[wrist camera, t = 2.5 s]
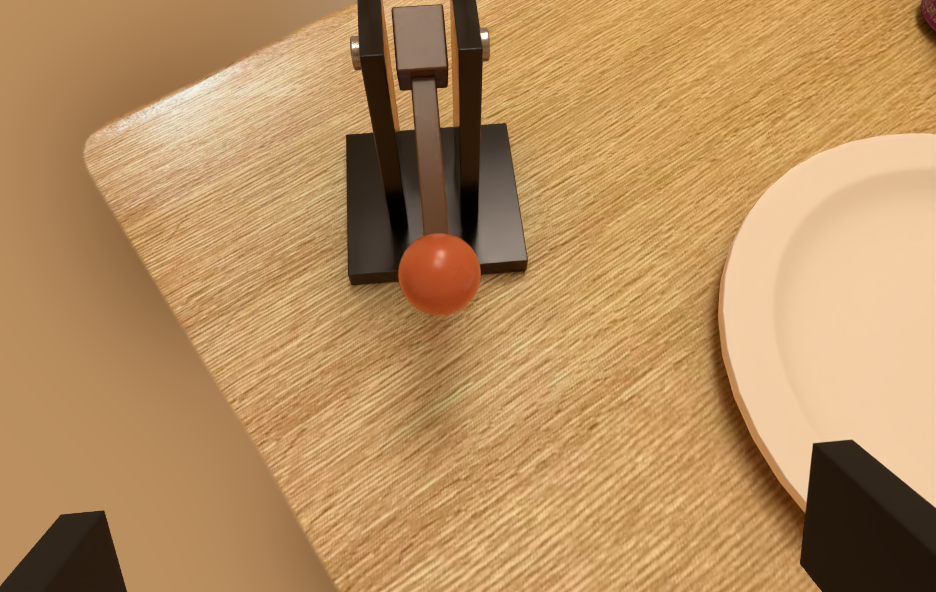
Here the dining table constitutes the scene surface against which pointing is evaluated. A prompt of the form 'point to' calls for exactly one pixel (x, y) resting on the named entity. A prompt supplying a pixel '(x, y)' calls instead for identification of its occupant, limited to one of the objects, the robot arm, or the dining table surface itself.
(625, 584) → the dining table surface
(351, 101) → the dining table surface
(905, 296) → the plate
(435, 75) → the lever rod
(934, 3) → the beverage can
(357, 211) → the rod bracket
